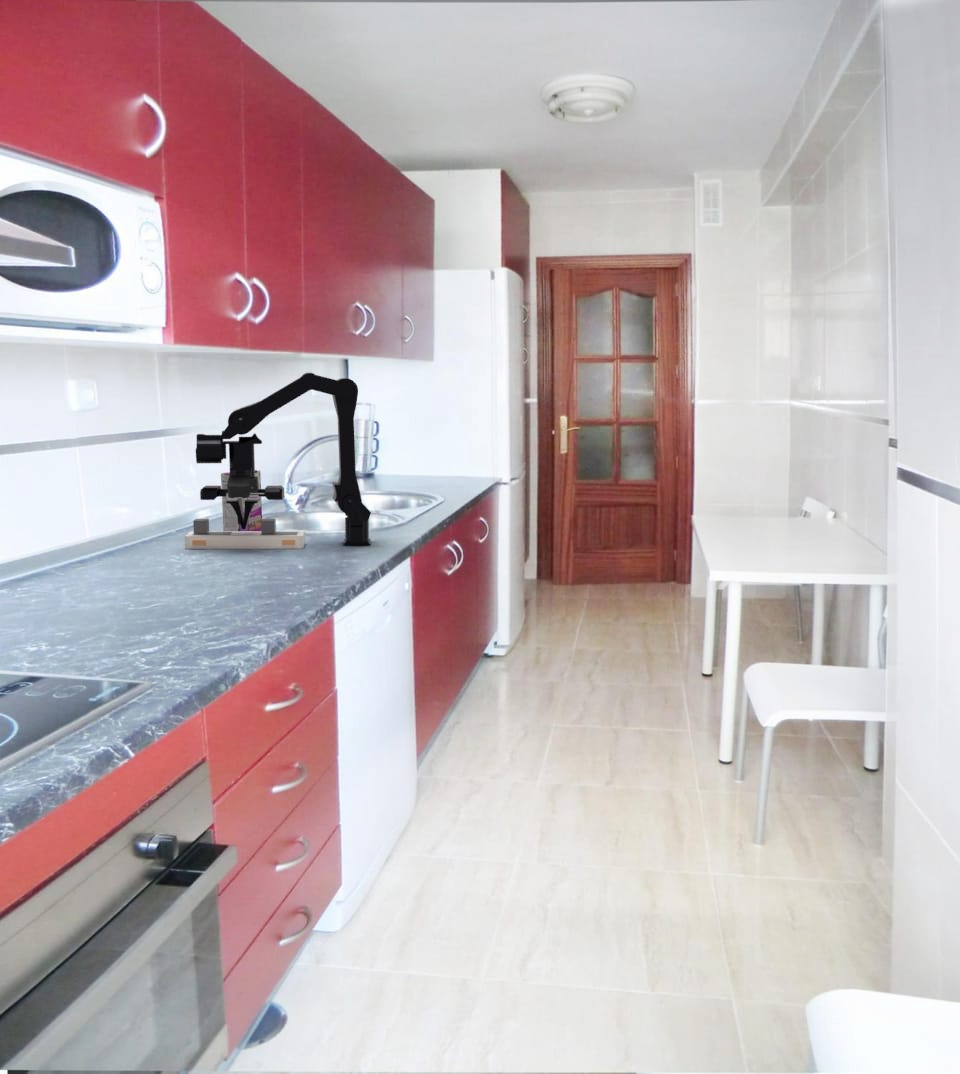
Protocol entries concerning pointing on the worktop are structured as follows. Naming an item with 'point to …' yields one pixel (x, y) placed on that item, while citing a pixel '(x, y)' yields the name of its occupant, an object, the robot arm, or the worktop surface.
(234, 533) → the switch bank
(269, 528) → the inner tab
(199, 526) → the outer tab
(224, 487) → the candy bar box
